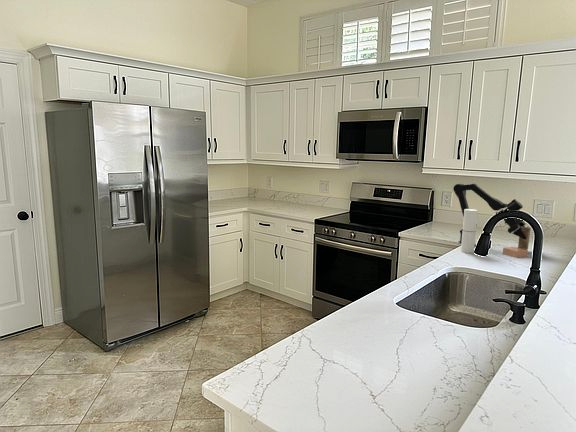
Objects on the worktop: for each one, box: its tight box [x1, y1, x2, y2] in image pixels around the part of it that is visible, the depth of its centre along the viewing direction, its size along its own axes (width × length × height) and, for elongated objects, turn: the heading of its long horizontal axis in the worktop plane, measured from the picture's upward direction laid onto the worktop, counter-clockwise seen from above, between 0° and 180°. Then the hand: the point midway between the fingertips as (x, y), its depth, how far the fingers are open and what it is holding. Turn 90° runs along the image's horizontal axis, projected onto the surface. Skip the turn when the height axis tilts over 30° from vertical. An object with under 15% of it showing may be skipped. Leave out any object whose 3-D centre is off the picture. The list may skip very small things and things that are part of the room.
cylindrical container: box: [460, 208, 478, 254], centre depth 238 cm, size 7×7×25 cm
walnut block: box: [517, 226, 531, 250], centre depth 241 cm, size 4×4×13 cm
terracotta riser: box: [501, 246, 529, 258], centre depth 233 cm, size 9×9×4 cm
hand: (526, 238), depth 240 cm, fingers closed on walnut block, 4 cm apart
